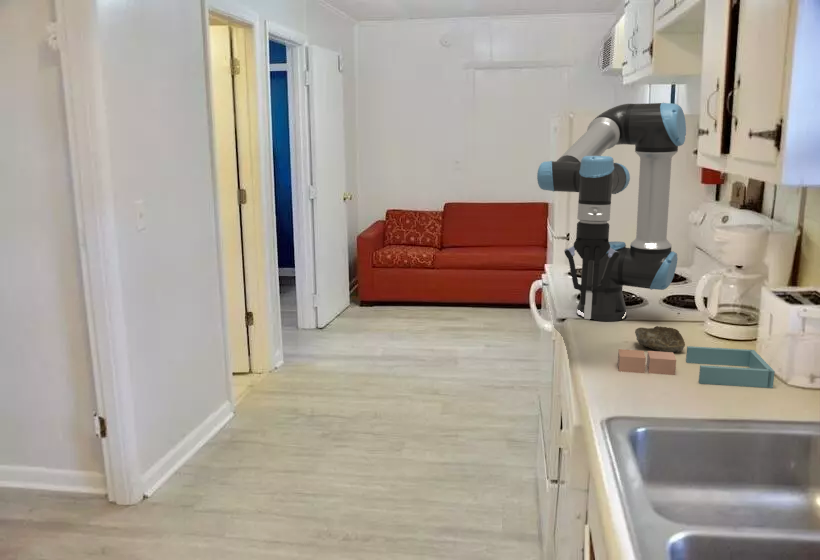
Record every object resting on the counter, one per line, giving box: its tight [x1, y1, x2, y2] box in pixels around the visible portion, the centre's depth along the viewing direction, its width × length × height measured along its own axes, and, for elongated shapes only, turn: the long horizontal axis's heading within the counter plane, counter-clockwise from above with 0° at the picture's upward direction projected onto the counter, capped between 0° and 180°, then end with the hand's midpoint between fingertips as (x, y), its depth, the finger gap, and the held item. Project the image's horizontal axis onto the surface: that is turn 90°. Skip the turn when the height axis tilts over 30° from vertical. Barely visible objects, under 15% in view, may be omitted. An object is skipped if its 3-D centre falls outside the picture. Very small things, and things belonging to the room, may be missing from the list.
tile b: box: [617, 348, 647, 374], centre depth 176 cm, size 6×6×4 cm
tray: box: [685, 345, 775, 389], centre depth 172 cm, size 16×16×4 cm
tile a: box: [646, 350, 677, 376], centre depth 175 cm, size 6×6×4 cm
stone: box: [634, 325, 686, 353], centre depth 192 cm, size 13×8×8 cm
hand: (587, 317), depth 176 cm, fingers closed
